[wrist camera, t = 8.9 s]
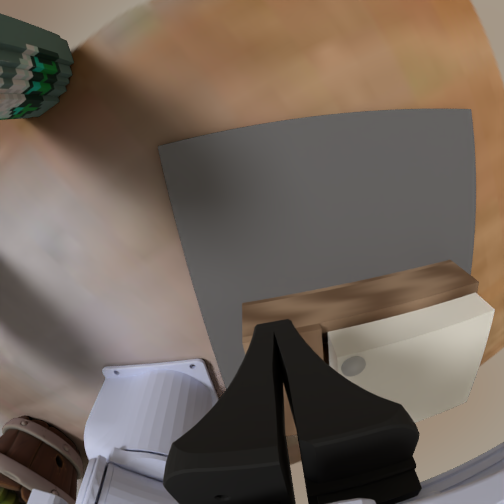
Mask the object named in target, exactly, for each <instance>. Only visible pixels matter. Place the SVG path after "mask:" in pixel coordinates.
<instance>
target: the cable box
mask: <svg viewBox="0 0 504 504" xmlns="http://www.w3.org/2000/svg"><path fill="white" fill-rule="evenodd" d="M478 284H479V282H478V281H477V280H476V279H475V278H473V277H472V276H471V275H470V274H468V273H467V272H466V271H465V270H463V269H462V268H461V267H459V266H458V265H457V264H455V263H454V262H453V261H452V260H447V261H443V262H439V263H434V264H430V265H426V266H422V267H418V268H414V269H409V270H405V271H401V272H396V273H392V274H388V275H383V276H379V277H374V278H370V279H365V280H360V281H356V282H351V283H346V284H341V285H336V286H331V287H327V288H322V289H316V290H311V291H306V292H301V293H296V294H290V295H285V296H280V297H274V298H269V299H263V300H257V301H252V302H246V303H242V344H243V347H244V351H245V355H246V352H247V350H248V348H249V345H250V342H251V339H252V336H253V332H254V327H255V326H256V325H257V324H262V323H268V322H273V321H279V320H284V319H289V320H291V321H292V323H293V325H294V327H295V328H296V330H297V331H298V333H299V334H300V335H301V337H302V338H303V339H304V340H305V342H306V343H307V344H308V345H309V346H310V347H311V348H312V350H313V351H314V352H315V353H316V354H317V355H318V356H319V357H320V358H321V359H323V360H324V361H325V362H326V363H327V364H328V365H329V349H328V332H329V331H334V330H339V329H343V328H348V327H352V326H357V325H361V324H365V323H369V322H373V321H377V320H382V319H386V318H389V317H393V316H397V315H401V314H405V313H408V312H412V311H416V310H419V309H423V308H426V307H430V306H433V305H437V304H440V303H444V302H447V301H450V300H453V299H457V298H460V297H463V296H466V295H469V294H472V293H475V292H476V293H477V290H478ZM283 389H284V413H285V433H286V436H291V435H296V434H297V431H296V427H295V423H294V419H293V416H292V412H291V409H290V405H289V401H288V398H287V394H286V391H285V387H284V383H283Z"/></svg>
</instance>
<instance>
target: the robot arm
mask: <svg viewBox="0 0 504 504" xmlns="http://www.w3.org/2000/svg"><path fill="white" fill-rule="evenodd" d="M191 364H194V365H195V366H192V365H191ZM117 371H118V372H117ZM102 373H103V375H104V376H105V378H106V379H105V381H104V383H103V385H102V387H101V390H100V392H99V394H98V397H97V399H96V401H95V403H94V406H93V408H92V410H91V413H90V415H89V418H88V420H87V423H86V426H85V431H84V445H85V451H86V454H87V457H88V459H89V463H88V466H87V469H86V472H85V475H84V478H83V481H82V484H81V487H80V490H79V493H78V497H77V500H76V503H75V504H295V497H294V491H293V483H292V477H291V470H290V462H289V456H288V449H287V442H286V433H285V413H284V389H283V383H284V387H285V391H286V394H287V398H288V401H289V405H290V409H291V412H292V416H293V419H294V423H295V427H296V431H297V436H298V442H299V448H300V454H301V460H302V465H303V472H304V478H305V484H306V490H307V497H308V503H309V504H504V442H503V443H501V444H499V445H498V446H496V447H494V448H492V449H491V450H489V451H487V452H485V453H483V454H481V455H480V456H478V457H476V458H474V459H472V460H470V461H468V462H466V463H464V464H462V465H460V466H457V467H455V468H453V469H451V470H449V471H447V472H445V473H442V474H440V475H437V476H435V477H433V478H430V479H428V480H425V481H423V482H419V480H418V477H417V474H416V472H415V468H416V463H415V461H414V459H413V453H414V451H415V447H416V445H417V442H418V439H419V432H418V429H417V427H416V424H415V423H414V421H413V419H412V418H411V416H410V415H409V414H408V412H407V411H406V410H405V408H404V407H403V406H402V405H401V404H399V403H396V402H393V401H390V400H388V399H385V398H382V397H379V396H377V395H375V394H373V393H371V392H369V391H367V390H365V389H363V388H361V387H360V386H358V385H356V384H354V383H353V382H351V381H349V380H348V379H346V378H345V377H344V376H342V375H341V374H339V373H338V372H337V371H335V370H334V369H333V368H332V367H330V366H329V365H328V364H327V363H326V362H325V361H324V360H323V359H321V358H320V357H319V356H318V355H317V354H316V353H315V352H314V351H313V350H312V348H311V347H310V346H309V345H308V344H307V343H306V342H305V340H304V339H303V338H302V337H301V335H300V334H299V333H298V331H297V330H296V328H295V327H294V325H293V323H292V321H291V320H289V319H284V320H279V321H273V322H268V323H262V324H257V325H256V326H255V327H254V332H253V336H252V339H251V342H250V345H249V348H248V350H247V352H246V355H245V357H244V359H243V361H242V363H241V365H240V367H239V369H238V371H237V373H236V375H235V377H234V378H233V380H232V382H231V383H230V385H229V386H228V388H227V389H226V391H225V392H224V394H223V395H222V396H221V397H220V399H218V396H217V393H216V391H215V388H214V385H213V383H212V380H211V377H210V375H209V372H208V369H207V366H206V364H205V362H204V361H203V360H202V359H191V360H182V361H172V362H162V363H151V364H139V365H125V366H108V367H104V368H103V370H102ZM27 504H68V503H67V502H66V501H65V500H64V499H62V498H61V497H59V496H57V495H55V494H52V493H48V492H45V491H42V490H38V489H32V492H31V494H30V497H29V500H28V502H27Z"/></svg>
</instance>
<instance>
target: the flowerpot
mask: <svg viewBox="0 0 504 504" xmlns="http://www.w3.org/2000/svg"><path fill="white" fill-rule="evenodd" d="M2 433H3V435H2V436H1V437H0V504H27V502H28V500H29V497H30V494H31V492H32V489H38V490H42V491H45V492H48V493H52V494H55V495H57V496H59V497H61V498H62V499H64V500H65V501H66V502H67V503H68V504H75V503H76V492H77V480H78V479H80V478H81V477H82V474H83V473H84V470H83V463H82V460H81V458H80V453H79V451H78V450H76V447H75V445H74V443H73V442H72V441H71V440H70V439H69V438H67V437H66V436H65V435H64V434H63V433H61V432H60V431H59V430H57V429H56V428H54V427H50V428H49V425H48V424H47V423H45V422H43V421H41V420H30V418H29V417H28V416H22V417H19V418H13V419H11V420H10V421H8V422H7V423H6V424H5V425H4V426H3V428H2Z"/></svg>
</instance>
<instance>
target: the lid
mask: <svg viewBox="0 0 504 504" xmlns="http://www.w3.org/2000/svg"><path fill="white" fill-rule="evenodd" d="M494 311H495V309H494V308H492V307H491V306H490V305H489V304H488V303H487V302H486V301H485V300H483V299H482V298H481V297H480V296H479V295H478V294H477V293H476V292H475V293H472V294H469V295H466V296H463V297H460V298H457V299H453V300H450V301H447V302H444V303H440V304H437V305H433V306H430V307H426V308H423V309H419V310H416V311H412V312H408V313H405V314H401V315H397V316H393V317H389V318H386V319H382V320H377V321H373V322H369V323H365V324H361V325H357V326H352V327H348V328H343V329H339V330H334V331H329V332H328V349H329V366H330V367H332V368H333V369H334V370H335V371H337V372H338V373H339V374H341V375H342V376H344V377H345V378H346V379H348V380H349V381H351V382H353V383H354V384H356V385H358V386H360V387H361V388H363V389H365V390H367V391H369V392H371V393H373V394H375V395H377V396H379V397H382V398H385V399H388V400H390V401H393V402H396V403H399V404H401V405H402V406H403V407H404V408H405V410H406V411H407V412H408V414H409V415H410V416H411V418H412V419H413V421H414V423H416V422H418V421H421V420H424V419H427V418H429V417H432V416H434V415H437V414H439V413H442V412H444V411H447V410H449V409H452V408H454V407H456V406H459V405H461V404H463V403H465V402H467V399H468V397H469V394H470V391H471V389H472V386H473V383H474V380H475V377H476V375H477V372H478V369H479V366H480V362H481V359H482V356H483V353H484V349H485V346H486V342H487V339H488V335H489V331H490V328H491V324H492V320H493V315H494Z"/></svg>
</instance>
